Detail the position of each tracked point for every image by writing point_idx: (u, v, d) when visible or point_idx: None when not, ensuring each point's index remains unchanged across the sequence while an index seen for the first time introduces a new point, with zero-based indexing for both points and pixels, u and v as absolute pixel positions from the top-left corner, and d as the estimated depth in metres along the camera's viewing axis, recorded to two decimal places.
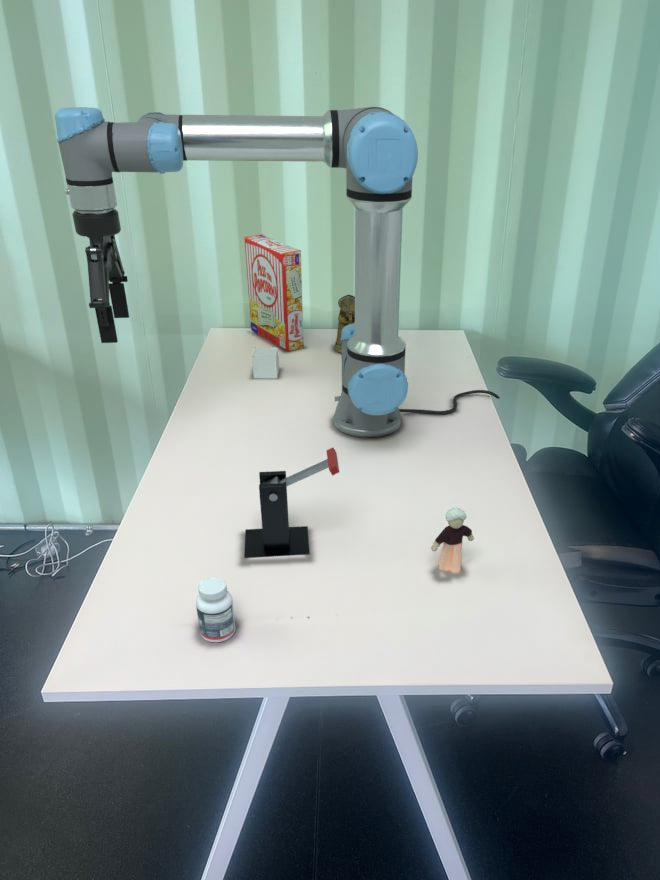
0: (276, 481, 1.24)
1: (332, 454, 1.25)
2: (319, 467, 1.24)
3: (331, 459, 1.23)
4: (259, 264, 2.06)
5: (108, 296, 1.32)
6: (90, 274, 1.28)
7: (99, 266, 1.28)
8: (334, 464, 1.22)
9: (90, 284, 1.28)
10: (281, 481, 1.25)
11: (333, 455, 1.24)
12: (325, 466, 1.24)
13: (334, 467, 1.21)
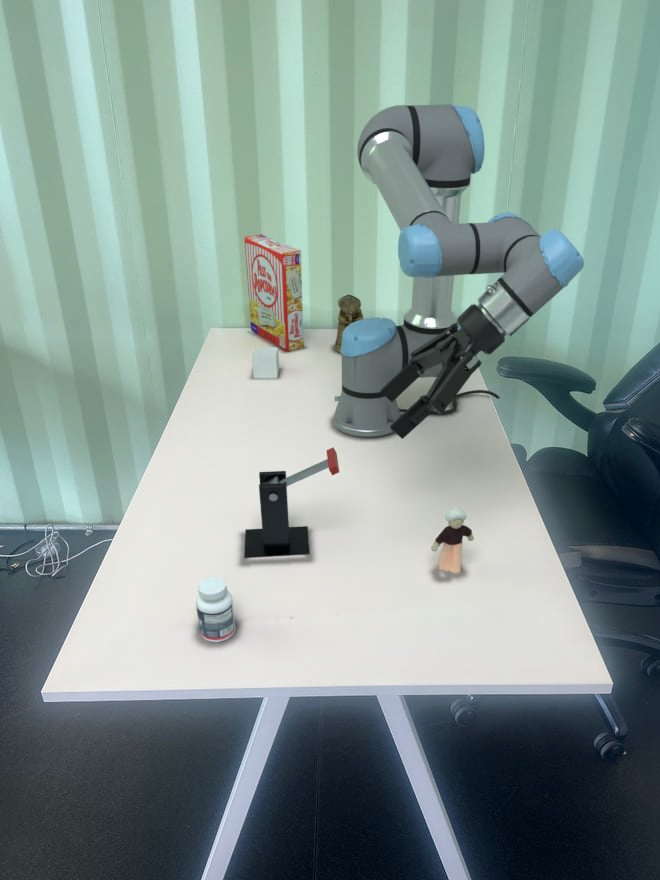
0: (276, 481, 1.24)
1: (332, 454, 1.25)
2: (319, 467, 1.24)
3: (331, 459, 1.23)
4: (259, 264, 2.06)
5: None
6: (454, 376, 1.10)
7: (466, 376, 1.11)
8: (334, 464, 1.22)
9: (446, 384, 1.10)
10: (281, 481, 1.25)
11: (333, 455, 1.24)
12: (325, 466, 1.24)
13: (334, 467, 1.21)
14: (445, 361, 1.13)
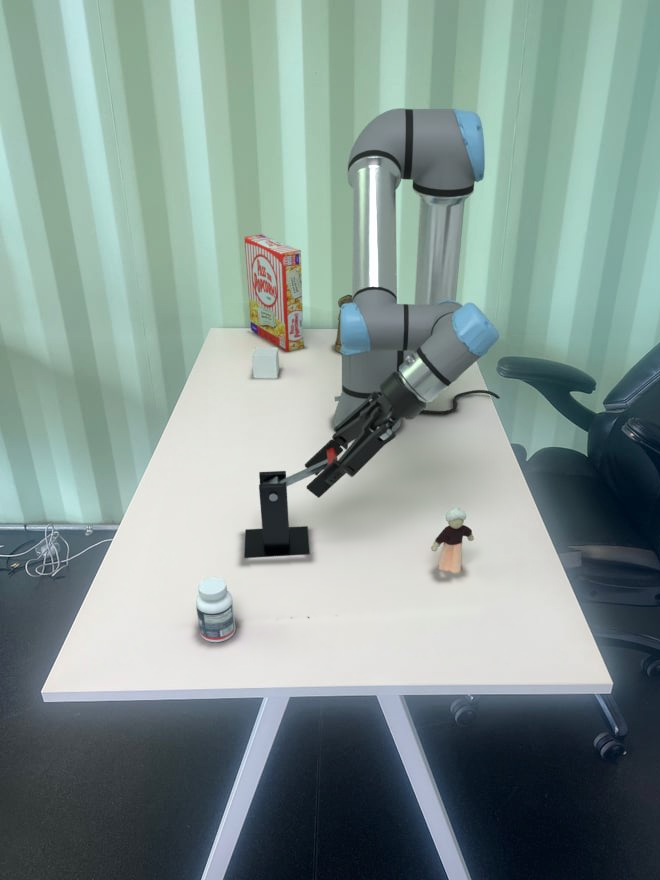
0: (276, 481, 1.24)
1: (332, 454, 1.25)
2: (319, 467, 1.24)
3: (331, 459, 1.23)
4: (259, 264, 2.06)
5: None
6: (366, 446, 1.16)
7: (379, 446, 1.17)
8: None
9: (358, 453, 1.16)
10: (281, 481, 1.25)
11: (333, 455, 1.24)
12: (325, 466, 1.24)
13: None
14: (364, 427, 1.19)
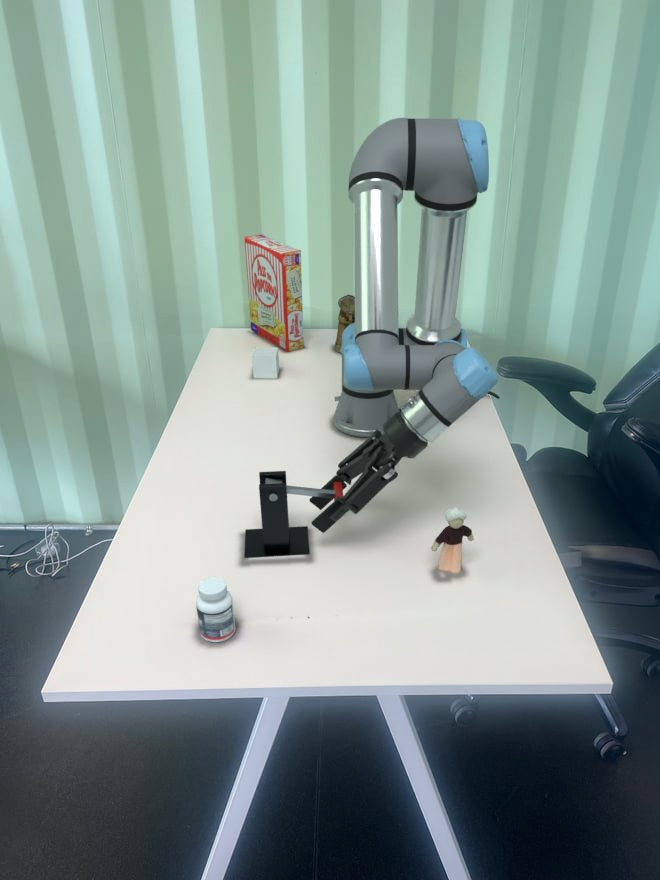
0: None
1: (340, 488, 1.28)
2: (325, 493, 1.27)
3: (339, 493, 1.27)
4: (259, 264, 2.06)
5: None
6: (369, 485, 1.20)
7: (382, 485, 1.21)
8: None
9: (361, 491, 1.20)
10: None
11: (341, 490, 1.28)
12: (330, 495, 1.27)
13: None
14: (367, 466, 1.23)
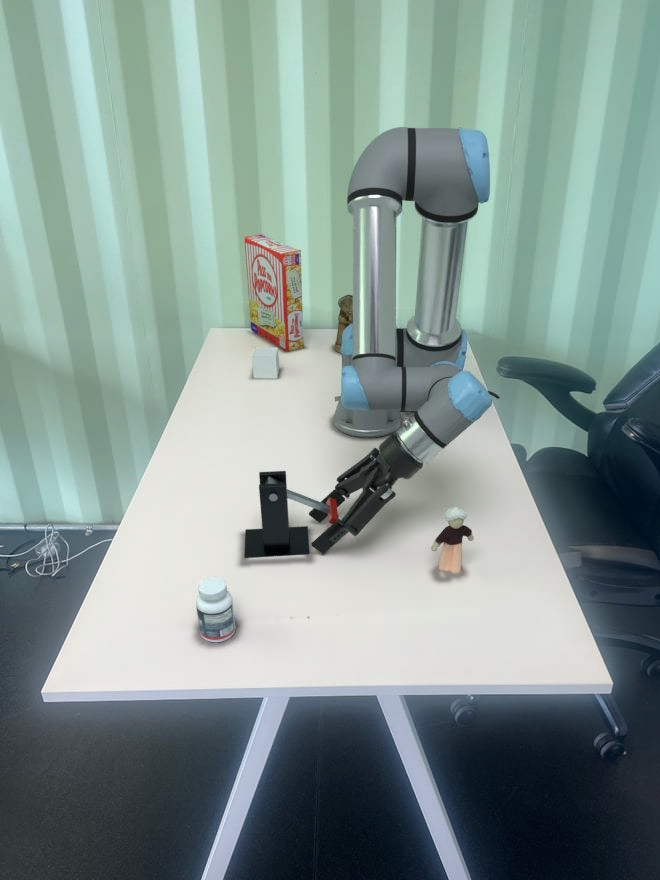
0: None
1: (335, 505, 1.30)
2: (320, 506, 1.28)
3: (334, 510, 1.29)
4: (259, 264, 2.06)
5: None
6: (368, 506, 1.21)
7: (380, 505, 1.22)
8: (337, 517, 1.27)
9: (360, 513, 1.22)
10: None
11: (336, 507, 1.30)
12: (325, 510, 1.29)
13: (336, 519, 1.27)
14: (364, 487, 1.24)
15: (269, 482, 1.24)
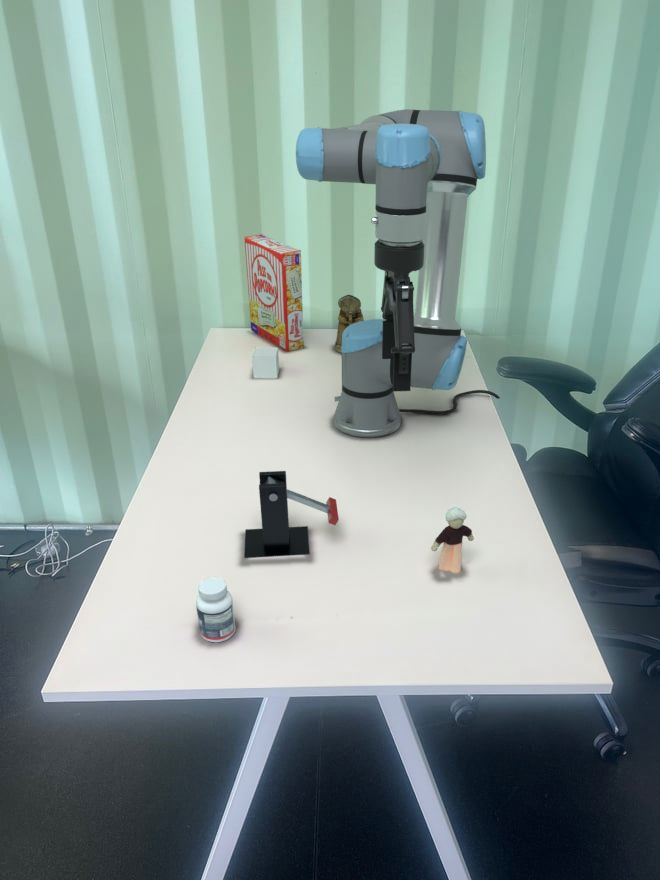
0: None
1: (335, 505, 1.30)
2: (320, 506, 1.28)
3: (334, 510, 1.29)
4: (259, 264, 2.06)
5: None
6: (399, 315, 1.11)
7: (410, 306, 1.11)
8: (337, 517, 1.27)
9: (399, 327, 1.12)
10: None
11: (336, 507, 1.30)
12: (325, 510, 1.29)
13: (336, 519, 1.27)
14: (390, 306, 1.15)
15: (269, 482, 1.24)
